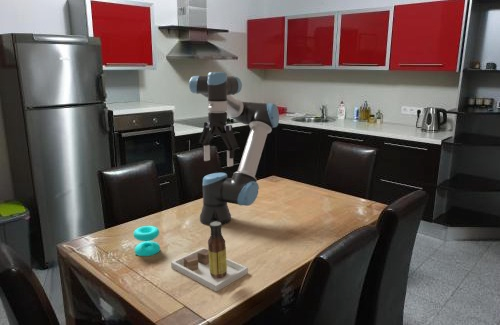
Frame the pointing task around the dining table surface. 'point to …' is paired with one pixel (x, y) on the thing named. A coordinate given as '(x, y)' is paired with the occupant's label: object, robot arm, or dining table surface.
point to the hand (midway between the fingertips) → (218, 163)
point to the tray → (204, 274)
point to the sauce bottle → (217, 251)
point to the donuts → (146, 241)
